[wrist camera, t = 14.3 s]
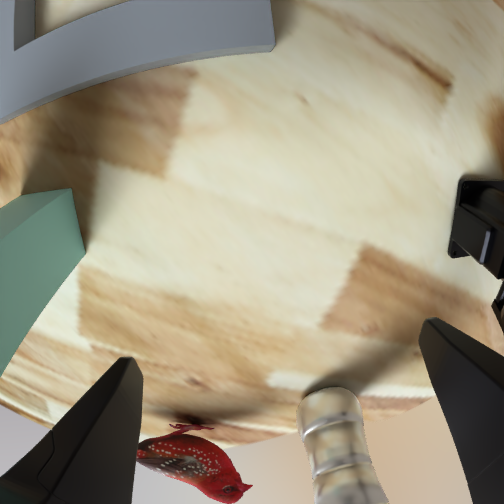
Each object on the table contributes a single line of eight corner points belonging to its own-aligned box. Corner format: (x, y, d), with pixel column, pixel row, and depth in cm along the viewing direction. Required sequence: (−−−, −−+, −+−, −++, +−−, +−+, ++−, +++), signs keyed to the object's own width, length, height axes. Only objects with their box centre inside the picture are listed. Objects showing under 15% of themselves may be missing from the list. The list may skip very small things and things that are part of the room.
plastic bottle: (284, 392, 28) (309, 586, 10) (349, 369, 27) (405, 563, 9) (303, 419, 31) (328, 579, 13) (359, 400, 30) (404, 559, 12)
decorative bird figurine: (249, 431, 32) (253, 506, 23) (106, 418, 31) (89, 486, 22) (250, 420, 30) (254, 500, 22) (99, 406, 29) (79, 477, 21)
